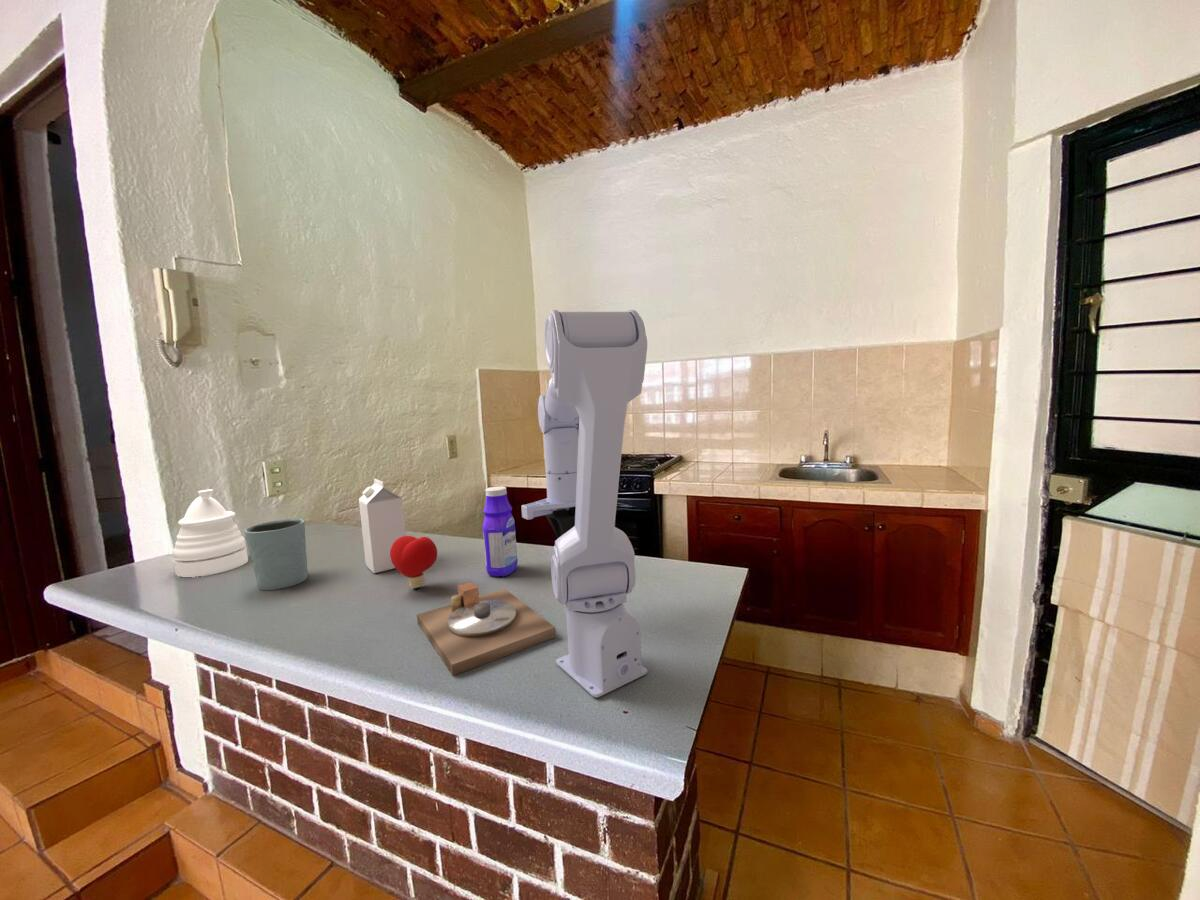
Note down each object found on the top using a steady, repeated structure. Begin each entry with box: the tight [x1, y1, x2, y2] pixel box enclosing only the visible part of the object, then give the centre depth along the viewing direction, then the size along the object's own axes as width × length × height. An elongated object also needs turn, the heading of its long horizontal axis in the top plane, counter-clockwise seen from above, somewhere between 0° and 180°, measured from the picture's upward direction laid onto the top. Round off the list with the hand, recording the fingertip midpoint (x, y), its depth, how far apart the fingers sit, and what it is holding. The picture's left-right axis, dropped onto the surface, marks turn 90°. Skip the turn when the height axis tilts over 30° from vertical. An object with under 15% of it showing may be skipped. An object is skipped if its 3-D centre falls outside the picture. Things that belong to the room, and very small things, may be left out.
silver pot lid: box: [448, 581, 516, 637], centre depth 72 cm, size 12×10×3 cm
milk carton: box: [358, 478, 407, 574], centre depth 101 cm, size 7×7×19 cm
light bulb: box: [390, 535, 438, 590], centre depth 88 cm, size 9×7×10 cm
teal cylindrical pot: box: [244, 518, 309, 591], centre depth 95 cm, size 10×10×12 cm
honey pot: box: [172, 488, 249, 578], centre depth 106 cm, size 13×13×18 cm
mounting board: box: [416, 588, 557, 677], centre depth 71 cm, size 18×15×4 cm
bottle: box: [482, 485, 519, 578], centre depth 94 cm, size 7×6×17 cm
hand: (568, 554), depth 75 cm, fingers closed
